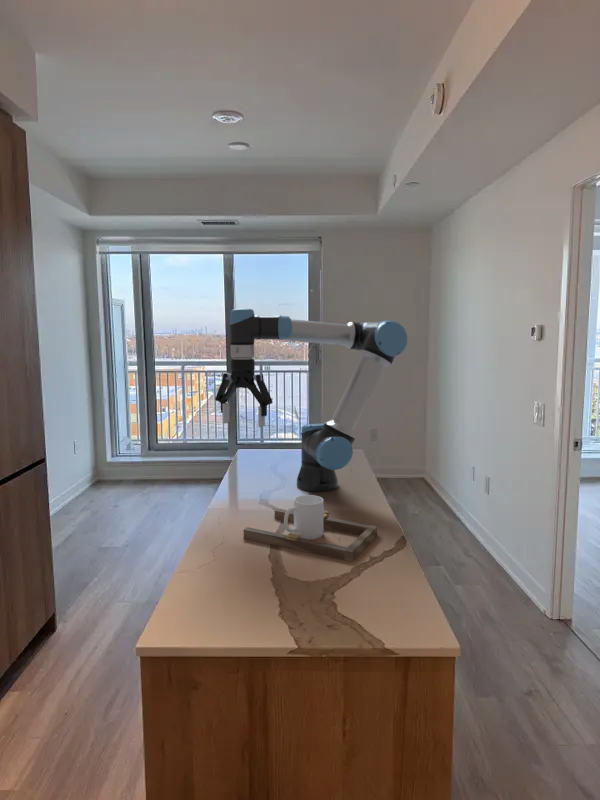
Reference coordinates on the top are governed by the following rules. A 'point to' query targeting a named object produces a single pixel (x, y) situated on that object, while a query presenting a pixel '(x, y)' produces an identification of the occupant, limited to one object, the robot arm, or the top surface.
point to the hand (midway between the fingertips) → (243, 424)
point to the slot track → (316, 547)
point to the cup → (306, 516)
